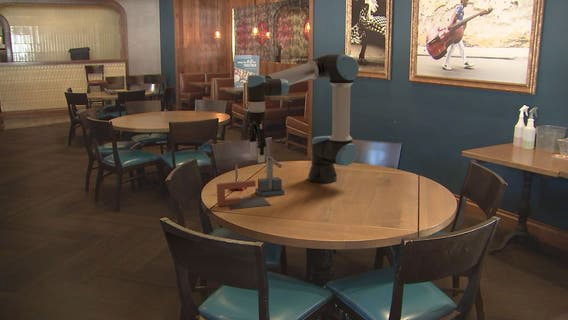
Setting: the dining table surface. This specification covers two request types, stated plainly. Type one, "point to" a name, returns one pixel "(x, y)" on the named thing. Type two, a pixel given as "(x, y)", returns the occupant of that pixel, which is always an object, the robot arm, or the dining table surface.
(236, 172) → the tow hook
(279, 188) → the toilet paper holder
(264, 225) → the dining table surface
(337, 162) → the robot arm
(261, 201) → the mat
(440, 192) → the dining table surface
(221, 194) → the reddish-brown c-shaped bracket
